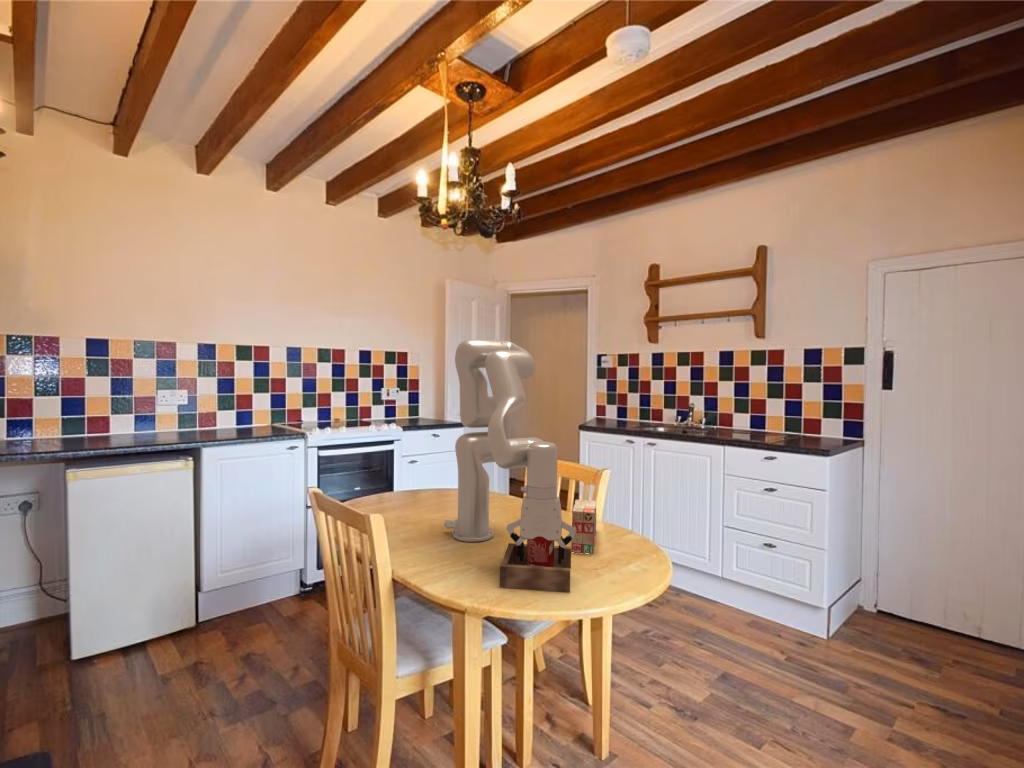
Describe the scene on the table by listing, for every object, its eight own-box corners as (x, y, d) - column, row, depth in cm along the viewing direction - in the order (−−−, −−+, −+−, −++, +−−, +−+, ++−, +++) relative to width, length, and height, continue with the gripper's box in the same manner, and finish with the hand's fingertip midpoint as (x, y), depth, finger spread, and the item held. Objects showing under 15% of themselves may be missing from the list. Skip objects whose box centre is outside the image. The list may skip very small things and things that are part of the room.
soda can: (545, 584, 123) (546, 534, 123) (521, 577, 127) (522, 529, 126) (558, 574, 129) (559, 527, 129) (534, 568, 133) (535, 522, 132)
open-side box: (499, 587, 121) (499, 566, 121) (508, 561, 137) (508, 543, 137) (569, 592, 119) (570, 570, 119) (570, 565, 135) (571, 546, 135)
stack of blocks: (576, 530, 165) (577, 492, 165) (596, 531, 164) (597, 493, 163) (571, 553, 144) (572, 510, 144) (593, 555, 143) (594, 511, 142)
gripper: (504, 494, 125) (504, 564, 125) (576, 497, 122) (575, 568, 123) (508, 487, 132) (508, 553, 133) (576, 490, 130) (575, 557, 130)
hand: (540, 560), depth 128 cm, fingers open, 9 cm apart
